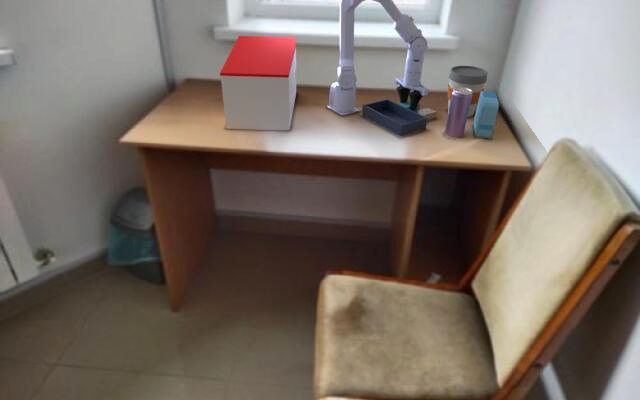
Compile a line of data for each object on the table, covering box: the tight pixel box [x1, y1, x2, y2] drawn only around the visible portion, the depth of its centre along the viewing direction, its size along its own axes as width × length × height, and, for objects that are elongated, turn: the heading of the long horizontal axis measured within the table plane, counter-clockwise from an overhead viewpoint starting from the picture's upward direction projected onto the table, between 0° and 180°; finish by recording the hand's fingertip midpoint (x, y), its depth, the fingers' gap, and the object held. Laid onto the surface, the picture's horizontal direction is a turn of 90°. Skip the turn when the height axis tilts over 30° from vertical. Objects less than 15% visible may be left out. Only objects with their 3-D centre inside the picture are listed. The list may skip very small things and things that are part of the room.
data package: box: [473, 90, 500, 139], centre depth 141 cm, size 12×4×12 cm, turn 167°
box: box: [361, 98, 428, 137], centre depth 148 cm, size 20×11×4 cm, turn 34°
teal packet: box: [398, 100, 421, 111], centre depth 157 cm, size 4×7×3 cm, turn 124°
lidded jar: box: [447, 65, 488, 118], centre depth 154 cm, size 13×13×15 cm
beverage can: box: [444, 87, 472, 139], centre depth 138 cm, size 6×6×15 cm
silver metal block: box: [414, 107, 437, 121], centre depth 152 cm, size 4×7×3 cm, turn 124°
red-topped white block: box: [219, 35, 297, 131], centre depth 151 cm, size 21×35×21 cm, turn 179°
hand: (408, 108), depth 157 cm, fingers closed on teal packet, 4 cm apart
